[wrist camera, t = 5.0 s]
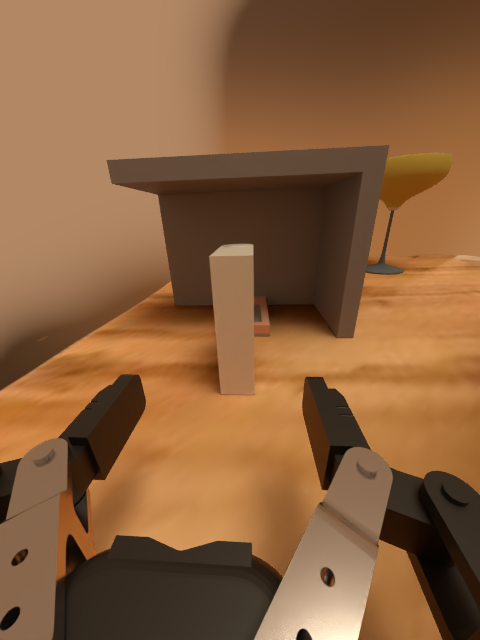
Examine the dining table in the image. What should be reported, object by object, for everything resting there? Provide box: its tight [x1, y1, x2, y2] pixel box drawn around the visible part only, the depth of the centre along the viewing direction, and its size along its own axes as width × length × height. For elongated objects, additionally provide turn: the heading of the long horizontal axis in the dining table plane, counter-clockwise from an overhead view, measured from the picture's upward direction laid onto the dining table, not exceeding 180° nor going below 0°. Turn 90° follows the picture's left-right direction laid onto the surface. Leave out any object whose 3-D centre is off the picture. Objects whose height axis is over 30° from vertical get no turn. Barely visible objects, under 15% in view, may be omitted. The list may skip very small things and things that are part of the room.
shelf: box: [107, 145, 389, 338], centre depth 33 cm, size 14×27×20 cm, turn 87°
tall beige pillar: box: [209, 244, 254, 395], centre depth 22 cm, size 8×3×12 cm, turn 177°
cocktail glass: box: [366, 153, 452, 274], centre depth 59 cm, size 18×18×25 cm
